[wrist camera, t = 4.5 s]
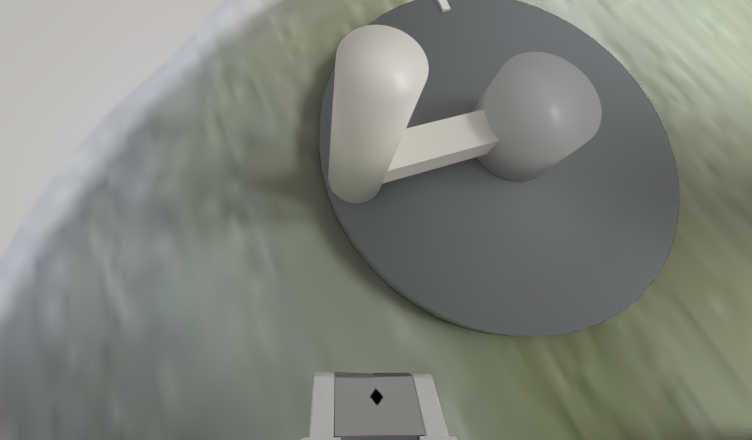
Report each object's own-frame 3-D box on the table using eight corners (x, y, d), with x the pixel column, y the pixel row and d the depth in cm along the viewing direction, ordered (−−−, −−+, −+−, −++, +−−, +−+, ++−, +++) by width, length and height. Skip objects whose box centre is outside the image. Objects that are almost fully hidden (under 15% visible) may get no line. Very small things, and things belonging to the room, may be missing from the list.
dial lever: (529, 88, 24) (649, -51, 15) (571, 166, 23) (729, 62, 14) (312, 140, 21) (309, -4, 12) (346, 237, 19) (370, 155, 10)
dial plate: (559, -9, 30) (573, -28, 28) (721, 260, 24) (750, 255, 23) (273, 38, 24) (270, 17, 23) (399, 405, 19) (407, 412, 17)
